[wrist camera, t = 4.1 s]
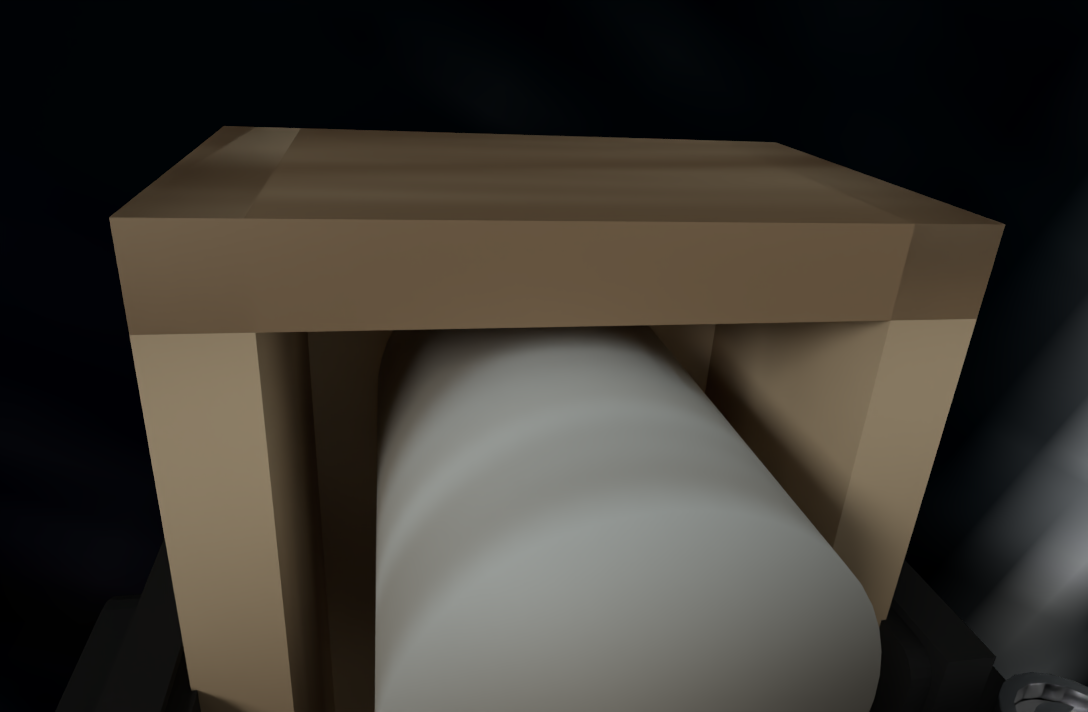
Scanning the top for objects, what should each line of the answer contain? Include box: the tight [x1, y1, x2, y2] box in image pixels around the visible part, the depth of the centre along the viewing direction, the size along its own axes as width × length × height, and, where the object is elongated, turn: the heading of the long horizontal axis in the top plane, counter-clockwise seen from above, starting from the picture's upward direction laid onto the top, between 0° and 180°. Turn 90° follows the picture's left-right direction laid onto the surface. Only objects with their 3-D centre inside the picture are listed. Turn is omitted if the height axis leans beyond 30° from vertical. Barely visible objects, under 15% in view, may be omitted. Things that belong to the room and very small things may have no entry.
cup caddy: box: [109, 126, 1005, 712], centre depth 9 cm, size 11×6×6 cm, turn 177°
